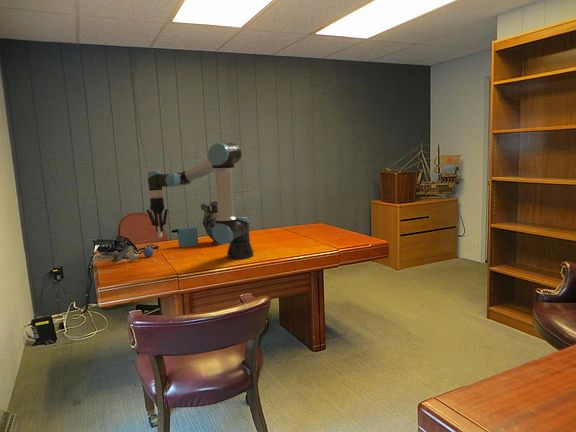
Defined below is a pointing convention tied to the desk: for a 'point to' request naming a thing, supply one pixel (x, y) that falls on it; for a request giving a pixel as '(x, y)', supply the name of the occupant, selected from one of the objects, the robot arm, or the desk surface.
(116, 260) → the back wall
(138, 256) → the ivory pin
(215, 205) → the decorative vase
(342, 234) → the desk surface
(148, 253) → the ball
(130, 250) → the sage pin
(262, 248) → the desk surface
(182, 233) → the data package
